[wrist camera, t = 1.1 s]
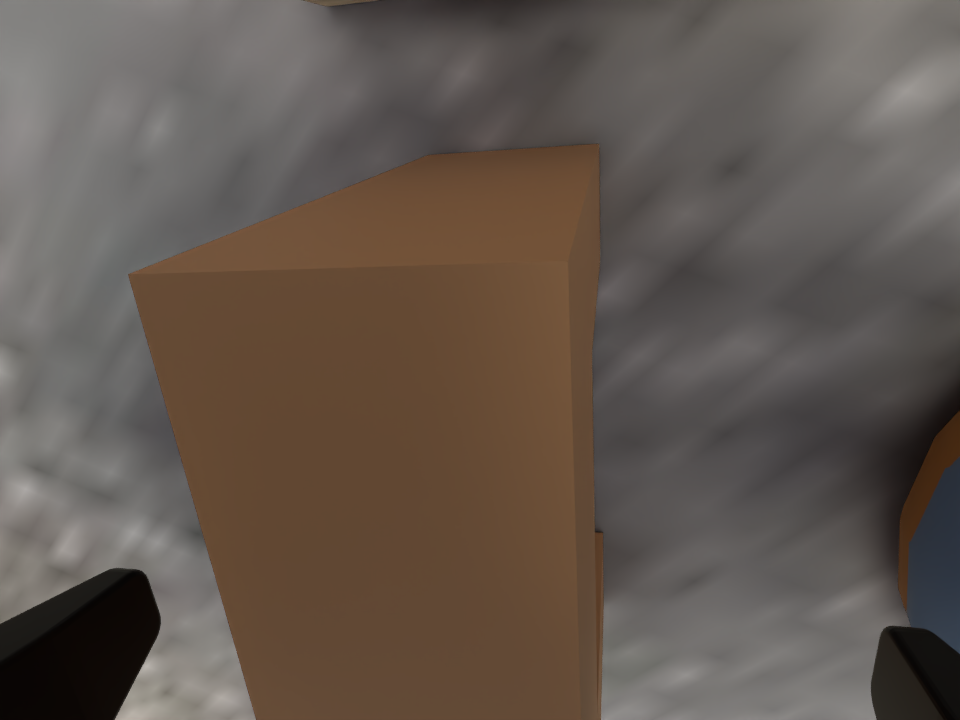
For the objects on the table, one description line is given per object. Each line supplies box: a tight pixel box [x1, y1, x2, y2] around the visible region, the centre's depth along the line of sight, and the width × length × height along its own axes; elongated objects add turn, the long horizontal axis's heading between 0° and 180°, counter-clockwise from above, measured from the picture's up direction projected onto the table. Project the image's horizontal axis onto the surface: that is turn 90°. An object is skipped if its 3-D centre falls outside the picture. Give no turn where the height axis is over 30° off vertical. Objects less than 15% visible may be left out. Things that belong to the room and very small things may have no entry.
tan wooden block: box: [128, 144, 604, 720], centre depth 10 cm, size 10×3×8 cm, turn 4°
